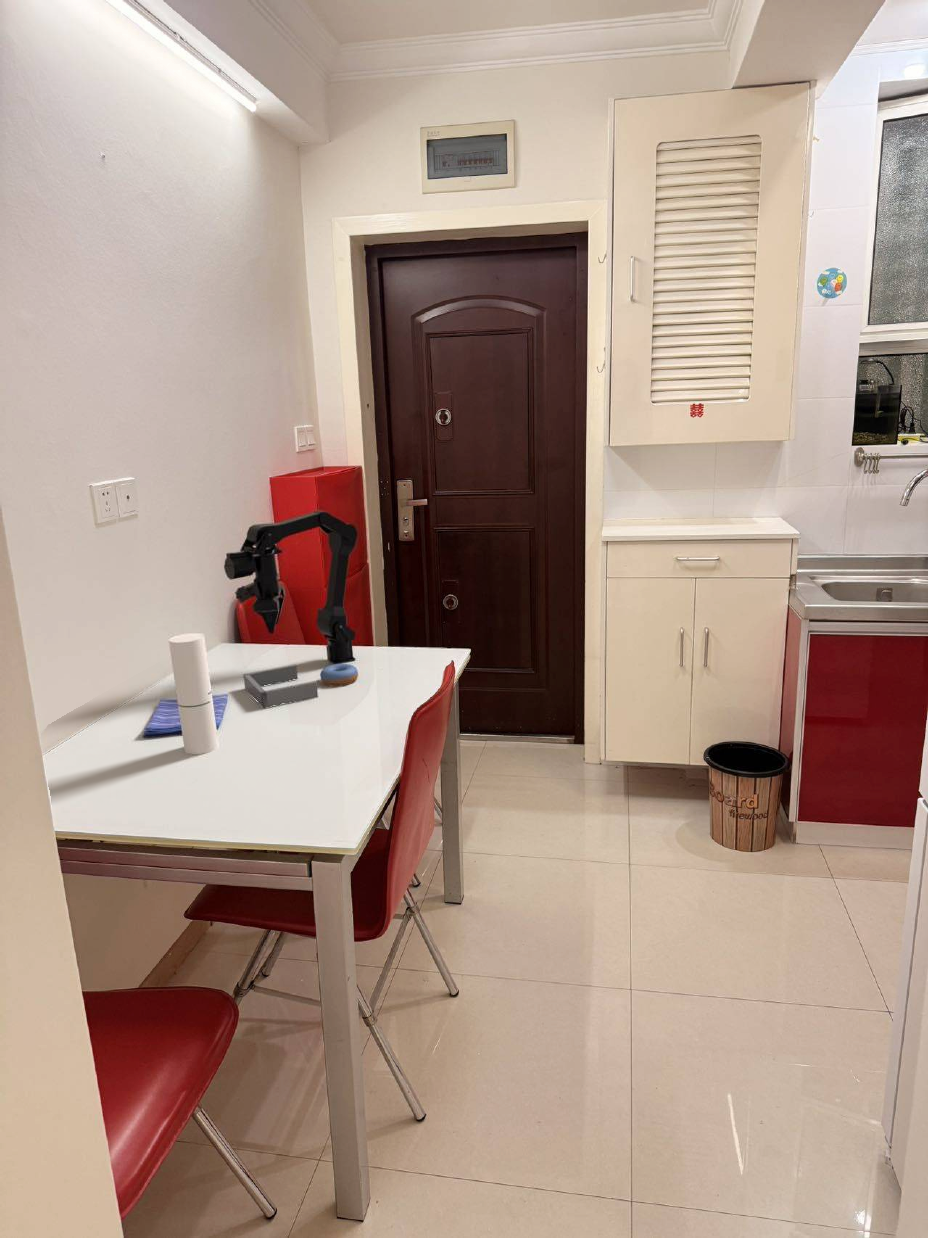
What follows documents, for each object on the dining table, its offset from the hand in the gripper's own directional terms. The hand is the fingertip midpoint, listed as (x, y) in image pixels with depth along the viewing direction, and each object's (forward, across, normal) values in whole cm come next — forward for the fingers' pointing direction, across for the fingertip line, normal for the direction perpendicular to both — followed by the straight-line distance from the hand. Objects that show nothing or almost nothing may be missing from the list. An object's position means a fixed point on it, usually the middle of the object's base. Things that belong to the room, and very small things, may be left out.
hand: (273, 628), depth 228 cm
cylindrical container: (+13, +48, -11) cm, 51 cm away
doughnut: (+14, +8, +17) cm, 23 cm away
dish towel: (+14, +27, -19) cm, 35 cm away
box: (+14, +14, +2) cm, 19 cm away
